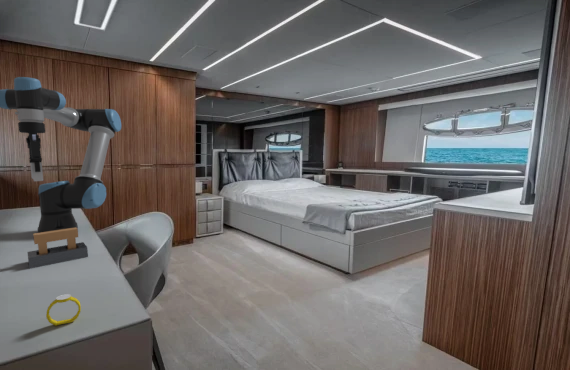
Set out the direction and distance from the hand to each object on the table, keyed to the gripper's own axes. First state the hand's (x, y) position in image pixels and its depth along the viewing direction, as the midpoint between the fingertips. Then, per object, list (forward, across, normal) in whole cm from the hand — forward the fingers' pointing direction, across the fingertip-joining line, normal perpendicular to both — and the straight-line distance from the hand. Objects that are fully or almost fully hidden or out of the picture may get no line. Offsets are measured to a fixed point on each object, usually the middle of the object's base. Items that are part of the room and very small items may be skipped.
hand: (37, 179), depth 114 cm
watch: (+27, +67, -1) cm, 72 cm away
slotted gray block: (+27, +18, +3) cm, 32 cm away
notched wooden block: (+27, +18, +3) cm, 32 cm away
